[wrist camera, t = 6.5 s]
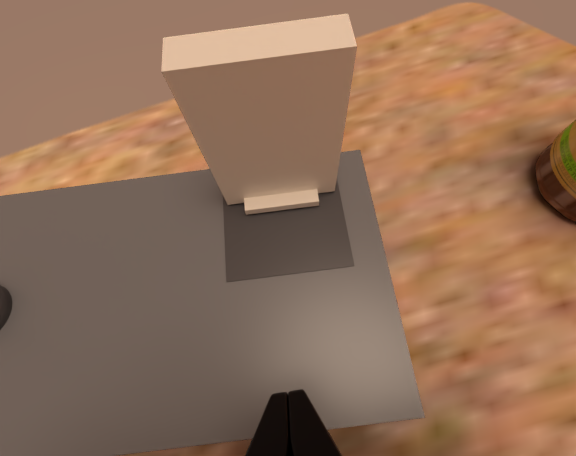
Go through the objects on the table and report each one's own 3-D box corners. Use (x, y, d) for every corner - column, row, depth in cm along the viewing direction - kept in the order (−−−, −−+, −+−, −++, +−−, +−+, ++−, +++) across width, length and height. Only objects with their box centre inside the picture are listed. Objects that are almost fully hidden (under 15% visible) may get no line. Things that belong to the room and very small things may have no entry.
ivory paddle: (337, 203, 18) (361, 63, 10) (228, 217, 18) (160, 90, 10) (328, 157, 19) (343, -2, 11) (226, 170, 19) (164, 22, 11)
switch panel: (408, 410, 16) (434, 421, 13) (-105, 473, 17) (-211, 501, 13) (354, 172, 22) (363, 137, 18) (-31, 221, 22) (-93, 195, 19)
